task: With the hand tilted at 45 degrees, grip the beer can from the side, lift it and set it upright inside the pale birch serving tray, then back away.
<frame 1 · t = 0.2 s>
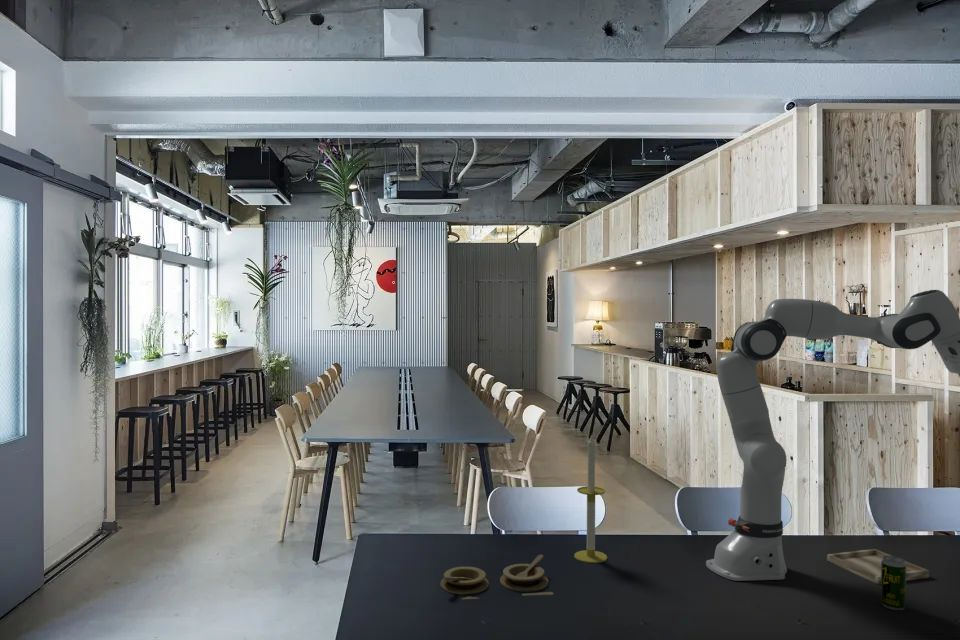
birch tray: (876, 569, 195), on the table
tableware set: (494, 586, 183), on the table
candle: (590, 557, 203), on the table
beer can: (893, 607, 170), on the table
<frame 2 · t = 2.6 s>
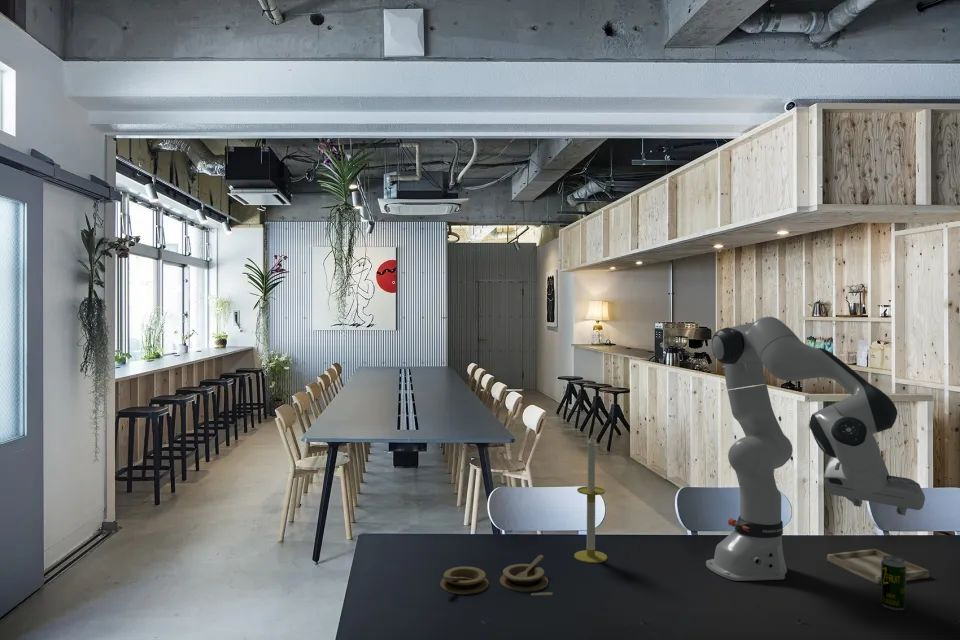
hand: (879, 508, 161), 28 cm above the table, tool tilted 45°, fingers open, 8 cm apart
nothing on the table moved.
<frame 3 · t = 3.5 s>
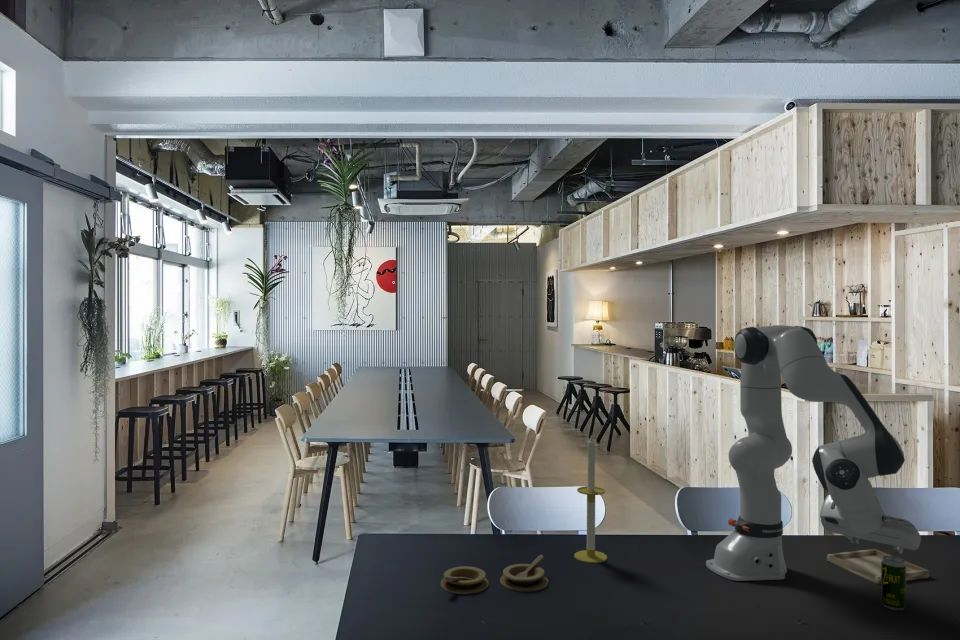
hand: (877, 545, 161), 18 cm above the table, tool tilted 45°, fingers open, 8 cm apart
nothing on the table moved.
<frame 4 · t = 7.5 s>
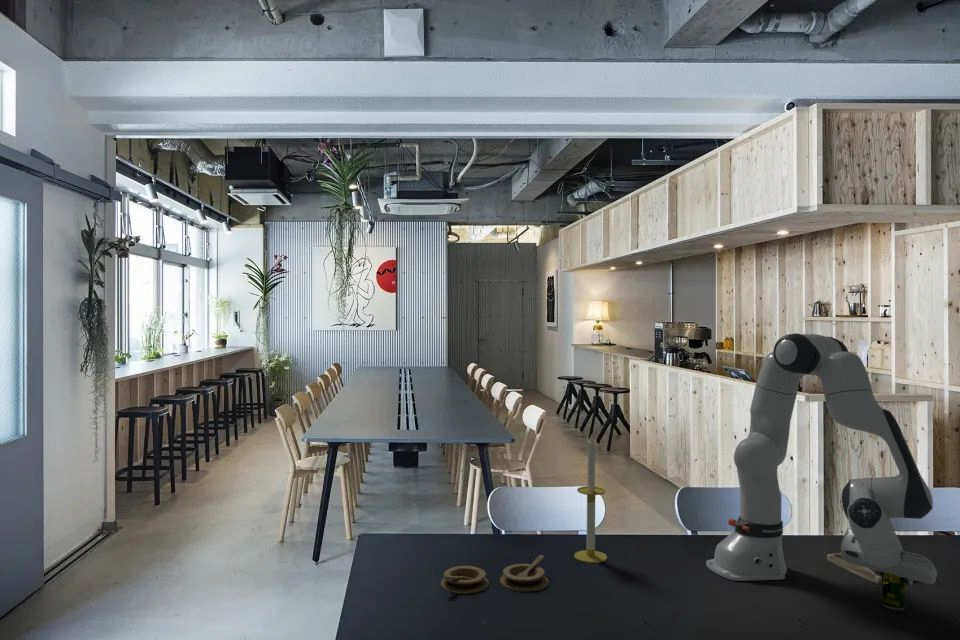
hand: (894, 577, 170), 7 cm above the table, tool tilted 45°, fingers closed on beer can, 5 cm apart
beer can: (893, 607, 170), on the table, touching gripper
everything else where it was.
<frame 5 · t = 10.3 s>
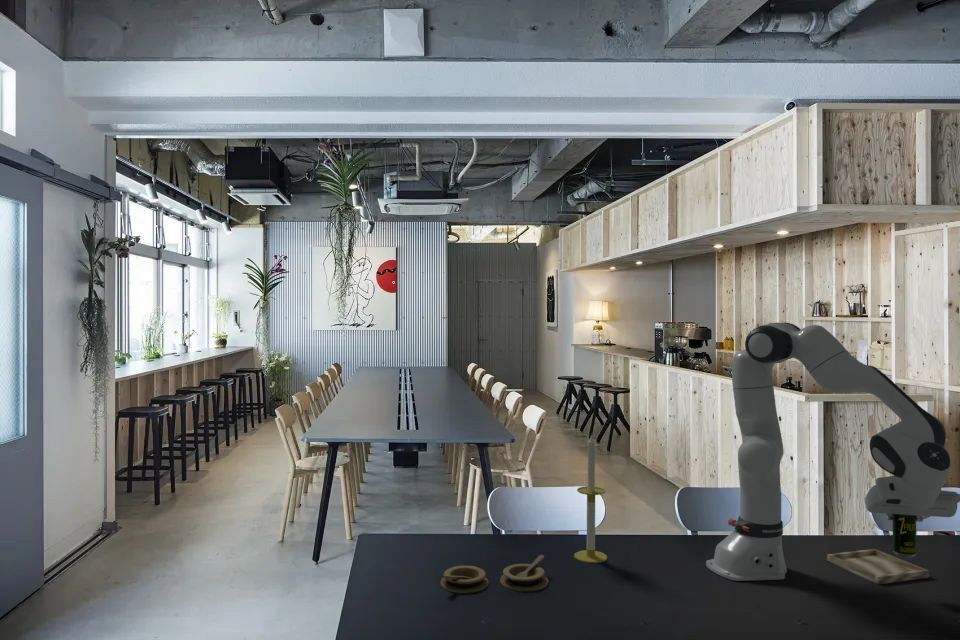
hand: (903, 518, 178), 20 cm above the table, tool tilted 45°, fingers closed on beer can, 5 cm apart
beer can: (904, 554, 178), point 10 cm above the table, touching gripper
everything else where it was.
when the fingers open (10 cm above the table, at t = 13.4 s): beer can stays where it is, resting on birch tray.
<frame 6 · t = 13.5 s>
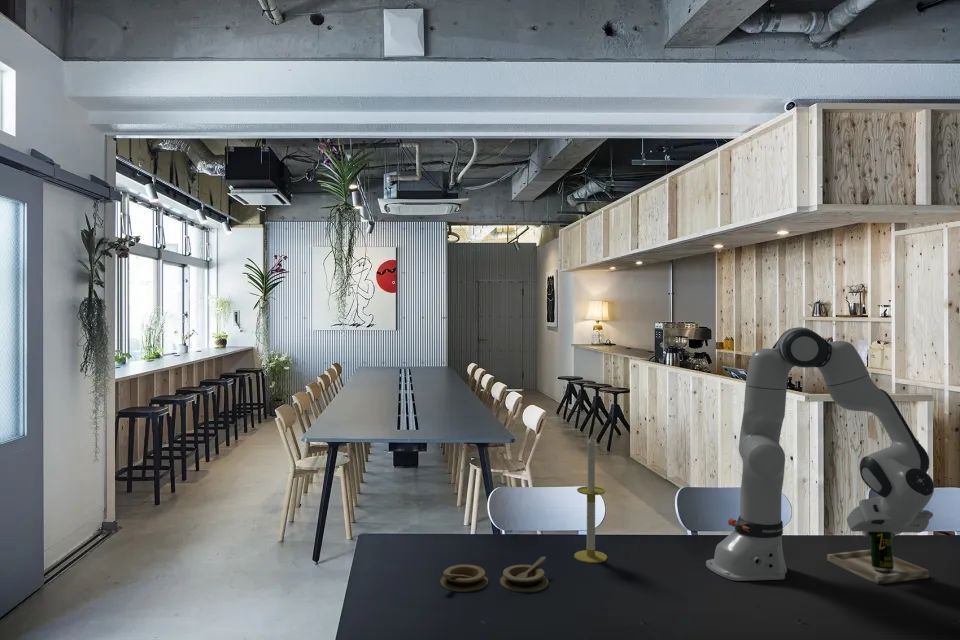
hand: (877, 534, 194), 10 cm above the table, tool tilted 45°, fingers open, 5 cm apart
beer can: (882, 570, 191), point 1 cm above the table, touching birch tray
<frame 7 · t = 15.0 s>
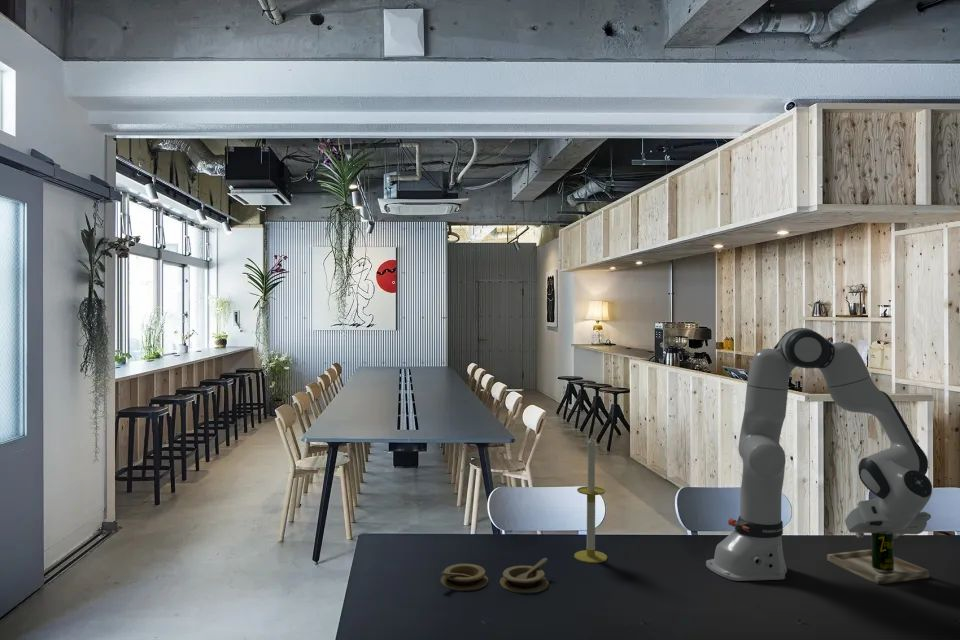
hand: (875, 535, 195), 9 cm above the table, tool tilted 45°, fingers open, 8 cm apart
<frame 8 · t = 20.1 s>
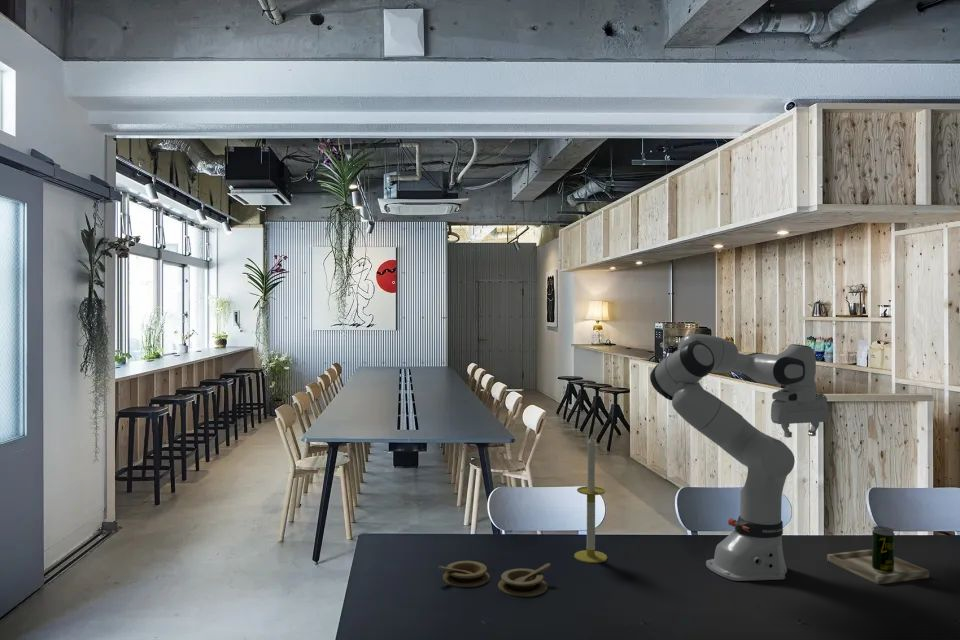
hand: (800, 436, 218), 34 cm above the table, tool pointing down, fingers open, 8 cm apart
at the end: beer can inside the target area on the birch tray (3.4 cm from its centre), point 0.6 cm above the birch tray's base; beer can tilted 0°; the gripper is holding nothing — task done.
